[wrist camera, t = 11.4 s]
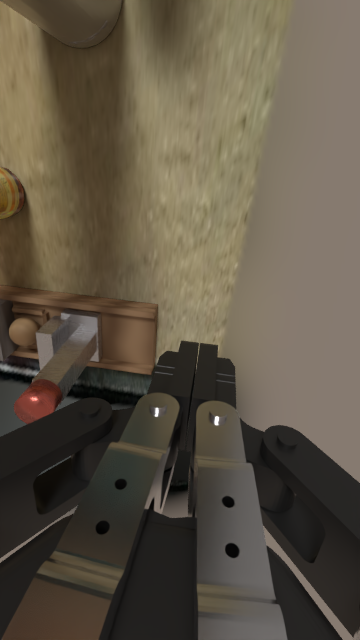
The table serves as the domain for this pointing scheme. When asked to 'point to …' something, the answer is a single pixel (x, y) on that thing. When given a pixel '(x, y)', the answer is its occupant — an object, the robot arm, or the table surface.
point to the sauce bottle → (10, 193)
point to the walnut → (23, 331)
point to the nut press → (116, 315)
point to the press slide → (60, 361)
